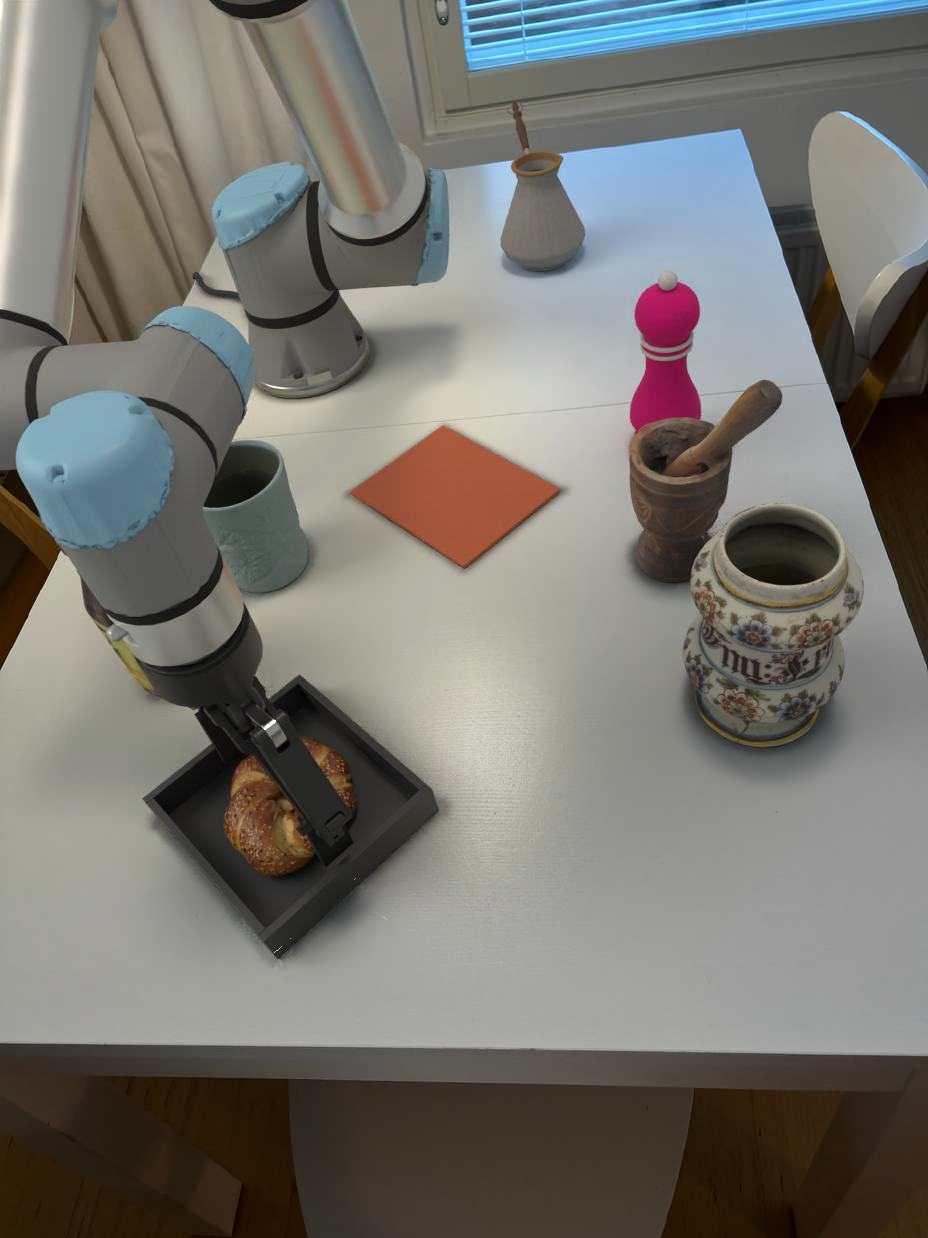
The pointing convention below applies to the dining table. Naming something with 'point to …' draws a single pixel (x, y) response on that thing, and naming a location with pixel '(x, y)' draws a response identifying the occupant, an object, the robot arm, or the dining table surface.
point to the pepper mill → (666, 352)
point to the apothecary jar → (770, 622)
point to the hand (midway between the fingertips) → (285, 799)
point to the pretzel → (277, 813)
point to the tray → (303, 897)
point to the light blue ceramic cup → (256, 518)
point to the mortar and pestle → (688, 480)
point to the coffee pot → (539, 210)
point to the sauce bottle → (103, 624)
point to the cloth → (455, 495)
